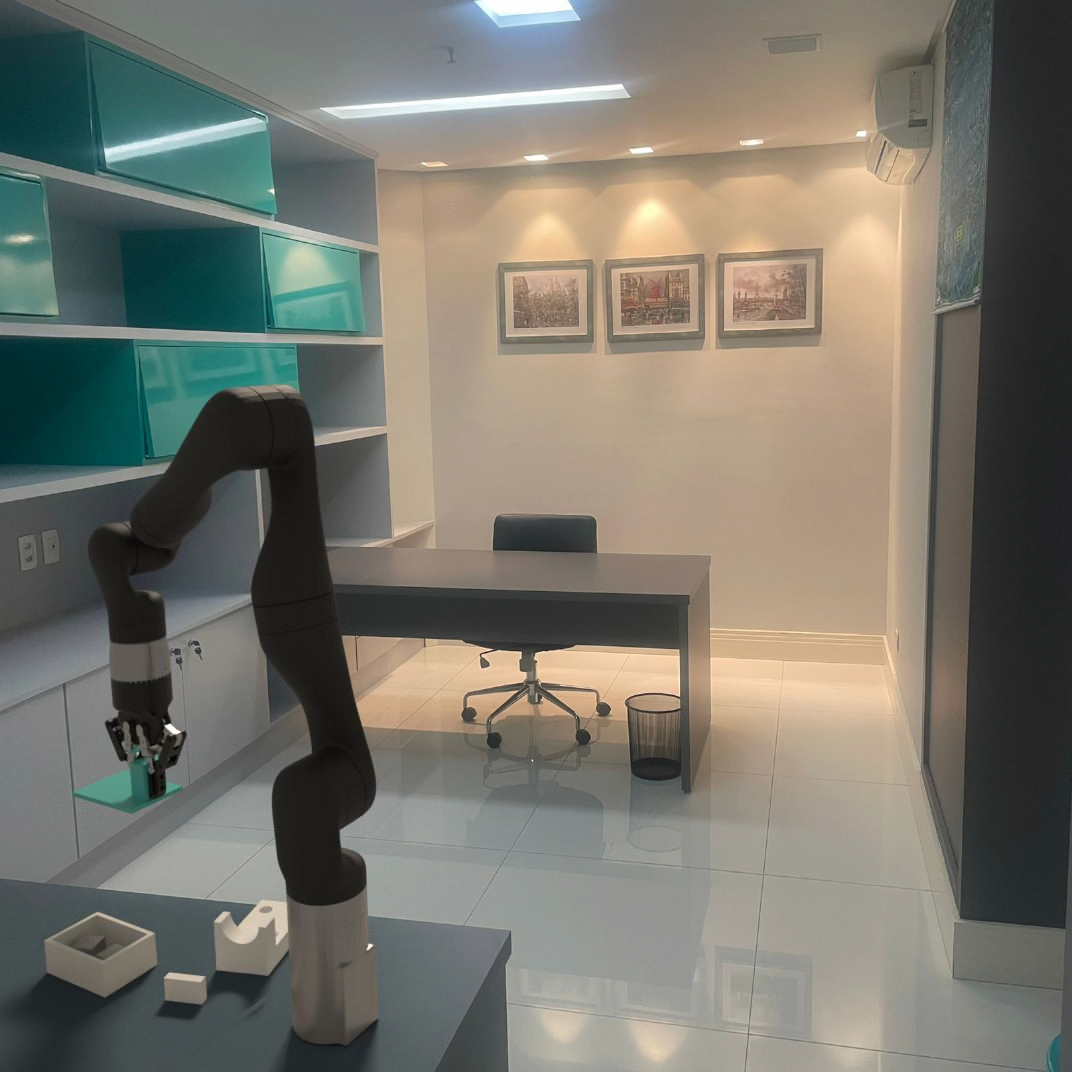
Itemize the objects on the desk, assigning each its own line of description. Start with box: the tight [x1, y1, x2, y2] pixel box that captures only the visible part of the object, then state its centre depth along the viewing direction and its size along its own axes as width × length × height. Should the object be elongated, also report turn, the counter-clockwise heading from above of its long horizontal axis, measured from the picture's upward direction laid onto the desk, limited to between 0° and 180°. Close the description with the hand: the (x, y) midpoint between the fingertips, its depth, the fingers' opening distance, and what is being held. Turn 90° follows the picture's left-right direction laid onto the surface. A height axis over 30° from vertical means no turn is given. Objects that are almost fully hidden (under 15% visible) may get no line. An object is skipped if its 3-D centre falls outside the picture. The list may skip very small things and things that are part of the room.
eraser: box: [163, 972, 208, 1005], centre depth 128 cm, size 1×5×4 cm, turn 79°
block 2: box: [96, 944, 125, 960], centre depth 133 cm, size 3×3×3 cm
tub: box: [43, 911, 158, 998], centre depth 135 cm, size 11×8×5 cm
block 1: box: [71, 935, 106, 957], centre depth 136 cm, size 3×3×3 cm
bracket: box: [213, 899, 289, 977], centre depth 140 cm, size 13×7×8 cm, turn 168°
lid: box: [72, 754, 184, 814], centre depth 143 cm, size 12×9×6 cm
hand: (149, 794), depth 141 cm, fingers closed on lid, 2 cm apart
